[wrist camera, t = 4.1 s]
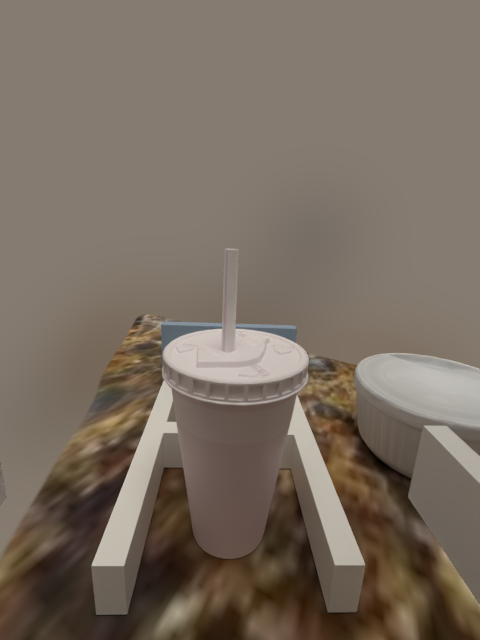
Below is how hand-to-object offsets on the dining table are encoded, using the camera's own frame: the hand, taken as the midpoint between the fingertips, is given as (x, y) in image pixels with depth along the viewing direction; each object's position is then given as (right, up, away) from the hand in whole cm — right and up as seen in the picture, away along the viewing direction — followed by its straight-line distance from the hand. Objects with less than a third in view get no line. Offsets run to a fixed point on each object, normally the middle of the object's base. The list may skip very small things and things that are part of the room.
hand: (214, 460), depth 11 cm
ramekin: (+14, -5, +14) cm, 21 cm away
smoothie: (0, -6, +7) cm, 10 cm away
